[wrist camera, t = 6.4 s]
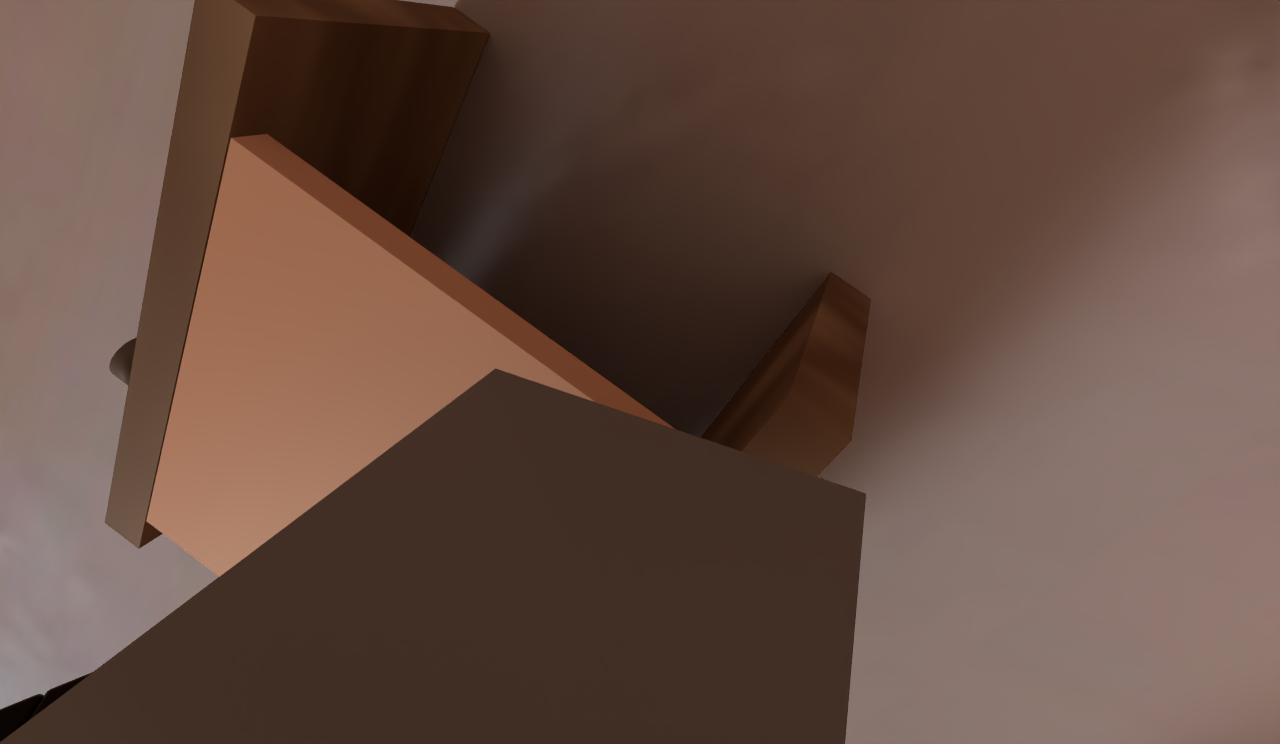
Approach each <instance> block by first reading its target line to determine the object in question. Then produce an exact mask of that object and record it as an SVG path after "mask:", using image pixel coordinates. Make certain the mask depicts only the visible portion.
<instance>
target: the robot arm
mask: <svg viewBox="0 0 1280 744" xmlns="http://www.w3.org/2000/svg"><path fill="white" fill-rule="evenodd" d="M92 673H93V672H92ZM90 674H91V673H89V674H87V675H84V676H82V677H79V678H77V679H75V680H72V681H70V682H67V683H65V684H62V685H60V686H57V687H55V688H52V689H50V690H49V691H47V693H46V694H45V695H43V694H37V695H35V696H32V697H30V698H27V699H25V700H22V701H20V702H17V703H15V704H13V705H10V706H8V707H5V708H3V709H0V742H1V741H3V740H4V739H5V738H6V737H8V736H9V735H10V734H12V733H13V732H14V731H16V730H17V729H18V728H20V727H21V726H22V725H24V724H25V723H26V722H28V721H29V720H30V719H32V718H33V717H34V716H36V715H37V714H38V713H40V712H41V711H42V710H44V709H45V708H46V707H48V706H49V705H50V704H52V703H53V702H54V701H56V700H57V699H58V698H59V697H61V696H62V695H63V694H65V693H66V692H67V691H69V690H70V689H71V688H73V687H74V686H75V685H77V684H78V683H79V682H81V681H82V680H83V679H85V678H86V677H87V676H89V675H90Z"/></svg>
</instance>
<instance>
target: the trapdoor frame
mask: <svg viewBox="0 0 1280 744" xmlns="http://www.w3.org/2000/svg"><path fill="white" fill-rule="evenodd" d="M488 36H489V32H487V31H486V30H485V29H483V28H482V27H480V26H479V25H477V24H476V23H475V22H473V21H472V20H470V19H469V18H467V17H466V16H465V15H463V14H462V13H460V12H459V11H457V10H456V9H455V8H453V7H447V6H439V5H431V4H423V3H415V2H407V1H399V0H195V3H194V8H193V14H192V20H191V26H190V32H189V37H188V43H187V49H186V55H185V61H184V66H183V72H182V78H181V84H180V90H179V95H178V101H177V107H176V113H175V119H174V124H173V130H172V136H171V142H170V148H169V153H168V159H167V165H166V171H165V177H164V182H163V188H162V194H161V200H160V206H159V211H158V217H157V223H156V229H155V235H154V240H153V246H152V252H151V258H150V264H149V269H148V275H147V281H146V287H145V293H144V298H143V304H142V310H141V316H140V322H139V327H138V333H137V338H135V339H132V340H130V341H129V342H127V343H126V344H124V345H123V346H122V347H121V348H120V349H119V350H118V351H117V352H116V353H115V354H114V356H113V357H112V359H111V362H110V371H111V373H112V374H114V375H115V376H116V377H118V378H119V379H120V380H122V381H123V382H124V383H126V384H127V385H128V391H127V397H126V403H125V409H124V414H123V420H122V426H121V432H120V438H119V443H118V449H117V455H116V461H115V467H114V472H113V478H112V484H111V490H110V496H109V501H108V507H107V513H106V519H105V523H106V524H107V525H109V526H110V527H111V528H112V529H114V530H115V531H116V532H118V533H119V534H120V535H122V536H123V537H124V538H125V539H127V540H128V541H129V542H131V543H132V544H133V545H135V546H136V547H137V548H141V547H142V546H144V545H146V544H147V543H149V542H150V541H152V540H153V539H155V538H157V537H158V536H160V535H161V534H163V533H161V532H160V531H159V530H157V529H156V528H155V527H154V526H152V525H151V524H150V523H148V522H147V521H146V520H147V516H148V511H149V507H150V502H151V498H152V493H153V489H154V484H155V480H156V475H157V471H158V466H159V462H160V457H161V452H162V448H163V443H164V439H165V434H166V430H167V425H168V421H169V416H170V412H171V407H172V403H173V398H174V394H175V389H176V384H177V380H178V375H179V371H180V366H181V362H182V357H183V353H184V348H185V344H186V339H187V335H188V330H189V326H190V321H191V316H192V312H193V307H194V303H195V298H196V294H197V289H198V285H199V280H200V276H201V271H202V267H203V262H204V258H205V253H206V248H207V244H208V239H209V235H210V230H211V226H212V221H213V217H214V212H215V208H216V203H217V199H218V194H219V190H220V185H221V181H222V176H223V171H224V167H225V162H226V158H227V153H228V149H229V144H230V140H231V138H234V137H243V136H252V135H261V134H268V135H269V136H271V137H272V138H273V139H275V140H276V141H277V142H279V143H280V144H282V145H283V146H284V147H286V148H287V149H289V150H290V151H291V152H293V153H294V154H295V155H297V156H298V157H300V158H301V159H302V160H304V161H305V162H306V163H308V164H309V165H311V166H312V167H313V168H315V169H316V170H318V171H319V172H320V173H322V174H323V175H324V176H326V177H327V178H329V179H330V180H331V181H333V182H334V183H336V184H337V185H338V186H340V187H341V188H342V189H344V190H345V191H347V192H348V193H349V194H351V195H352V196H354V197H355V198H356V199H358V200H359V201H360V202H362V203H363V204H365V205H366V206H367V207H369V208H370V209H372V210H373V211H374V212H376V213H377V214H378V215H380V216H381V217H383V218H384V219H385V220H387V221H388V222H389V223H391V224H392V225H394V226H395V227H396V228H398V229H399V230H401V231H402V232H403V233H405V234H406V235H407V236H409V235H410V233H411V230H412V228H413V225H414V223H415V220H416V217H417V215H418V212H419V210H420V207H421V205H422V202H423V200H424V197H425V195H426V192H427V190H428V187H429V185H430V182H431V180H432V177H433V175H434V172H435V169H436V167H437V164H438V162H439V159H440V157H441V154H442V152H443V149H444V147H445V144H446V142H447V139H448V137H449V134H450V132H451V129H452V127H453V124H454V121H455V119H456V116H457V114H458V111H459V109H460V106H461V104H462V101H463V99H464V96H465V94H466V91H467V89H468V86H469V84H470V81H471V79H472V76H473V73H474V71H475V68H476V66H477V63H478V61H479V58H480V56H481V53H482V51H483V48H484V46H485V43H486V41H487V38H488ZM869 308H870V299H869V298H867V297H866V296H864V295H863V294H861V293H860V292H859V291H857V290H856V289H854V288H853V287H851V286H850V285H849V284H847V283H846V282H844V281H843V280H841V279H840V278H839V277H837V276H836V275H834V274H833V273H831V274H830V275H829V276H828V277H827V279H826V280H825V281H824V282H823V284H822V285H821V286H820V287H819V289H818V290H817V291H816V292H815V294H814V295H813V296H812V298H811V299H810V300H809V301H808V303H807V304H806V305H805V306H804V308H803V309H802V310H801V311H800V313H799V314H798V315H797V316H796V318H795V319H794V320H793V322H792V323H791V324H790V325H789V327H788V328H787V329H786V330H785V332H784V333H783V334H782V335H781V337H780V338H779V339H778V340H777V342H776V343H775V344H774V346H773V347H772V348H771V349H770V351H769V352H768V353H767V354H766V356H765V357H764V358H763V359H762V361H761V362H760V363H759V364H758V366H757V367H756V368H755V370H754V371H753V372H752V373H751V375H750V376H749V377H748V378H747V380H746V381H745V382H744V383H743V385H742V386H741V387H740V389H739V390H738V391H737V392H736V394H735V395H734V396H733V397H732V399H731V400H730V401H729V402H728V404H727V405H726V406H725V407H724V409H723V410H722V411H721V413H720V414H719V415H718V416H717V418H716V419H715V420H714V421H713V423H712V424H711V425H710V426H709V428H708V429H707V430H706V431H705V433H704V434H703V435H702V437H701V438H703V439H706V440H709V441H712V442H715V443H718V444H721V445H723V446H726V447H729V448H732V449H735V450H738V451H741V452H744V453H747V454H750V455H753V456H756V457H759V458H762V459H765V460H768V461H771V462H774V463H777V464H780V465H783V466H786V467H789V468H791V469H794V470H797V471H800V472H803V473H806V474H809V475H812V476H815V477H817V476H818V475H819V474H820V473H821V472H822V471H823V470H824V468H825V467H826V466H827V465H828V464H829V463H830V462H831V461H832V460H833V459H834V458H835V457H836V456H837V455H838V454H839V453H840V452H841V451H842V450H843V449H844V448H845V446H846V445H847V444H848V443H849V442H850V441H851V439H852V431H853V424H854V417H855V409H856V402H857V395H858V388H859V380H860V373H861V366H862V359H863V351H864V344H865V337H866V329H867V322H868V315H869Z"/></svg>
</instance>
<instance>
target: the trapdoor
mask: <svg viewBox="0 0 1280 744" xmlns="http://www.w3.org/2000/svg"><path fill="white" fill-rule="evenodd" d="M495 368H496V369H499V370H502V371H505V372H508V373H511V374H514V375H517V376H520V377H522V378H525V379H528V380H531V381H534V382H537V383H540V384H543V385H546V386H549V387H552V388H555V389H558V390H561V391H564V392H567V393H570V394H573V395H576V396H579V397H582V398H585V399H588V400H590V401H593V402H596V403H599V404H602V405H605V406H608V407H611V408H614V409H617V410H620V411H623V412H626V413H629V414H632V415H635V416H638V417H641V418H644V419H647V420H650V421H653V422H655V423H658V424H661V425H664V426H667V427H670V428H673V427H672V426H670V425H669V424H668V423H666V422H665V421H663V420H662V419H661V418H659V417H658V416H656V415H655V414H654V413H652V412H651V411H650V410H648V409H647V408H645V407H644V406H643V405H641V404H640V403H639V402H637V401H636V400H634V399H633V398H632V397H630V396H629V395H627V394H626V393H625V392H623V391H622V390H621V389H619V388H618V387H616V386H615V385H614V384H612V383H611V382H609V381H608V380H607V379H605V378H604V377H603V376H601V375H600V374H598V373H597V372H596V371H594V370H593V369H591V368H590V367H589V366H587V365H586V364H585V363H583V362H582V361H580V360H579V359H578V358H576V357H575V356H573V355H572V354H571V353H569V352H568V351H567V350H565V349H564V348H562V347H561V346H560V345H558V344H557V343H556V342H554V341H553V340H551V339H550V338H549V337H547V336H546V335H544V334H543V333H542V332H540V331H539V330H538V329H536V328H535V327H533V326H532V325H531V324H529V323H528V322H526V321H525V320H524V319H522V318H521V317H520V316H518V315H517V314H515V313H514V312H513V311H511V310H510V309H508V308H507V307H506V306H504V305H503V304H502V303H500V302H499V301H497V300H496V299H495V298H493V297H492V296H490V295H489V294H488V293H486V292H485V291H484V290H482V289H481V288H479V287H478V286H477V285H475V284H474V283H473V282H471V281H470V280H468V279H467V278H466V277H464V276H463V275H461V274H460V273H459V272H457V271H456V270H455V269H453V268H452V267H450V266H449V265H448V264H446V263H445V262H443V261H442V260H441V259H439V258H438V257H437V256H435V255H434V254H432V253H431V252H430V251H428V250H427V249H425V248H424V247H423V246H421V245H420V244H419V243H417V242H416V241H414V240H413V239H412V238H410V237H409V236H407V235H406V234H405V233H403V232H402V231H401V230H399V229H398V228H396V227H395V226H394V225H392V224H391V223H389V222H388V221H387V220H385V219H384V218H383V217H381V216H380V215H378V214H377V213H376V212H374V211H373V210H372V209H370V208H369V207H367V206H366V205H365V204H363V203H362V202H360V201H359V200H358V199H356V198H355V197H354V196H352V195H351V194H349V193H348V192H347V191H345V190H344V189H342V188H341V187H340V186H338V185H337V184H336V183H334V182H333V181H331V180H330V179H329V178H327V177H326V176H324V175H323V174H322V173H320V172H319V171H318V170H316V169H315V168H313V167H312V166H311V165H309V164H308V163H306V162H305V161H304V160H302V159H301V158H300V157H298V156H297V155H295V154H294V153H293V152H291V151H290V150H289V149H287V148H286V147H284V146H283V145H282V144H280V143H279V142H277V141H276V140H275V139H273V138H272V137H271V136H269V135H268V134H261V135H252V136H243V137H234V138H231V140H230V144H229V149H228V153H227V158H226V162H225V167H224V171H223V176H222V181H221V185H220V190H219V194H218V199H217V203H216V208H215V212H214V217H213V221H212V226H211V230H210V235H209V239H208V244H207V248H206V253H205V258H204V262H203V267H202V271H201V276H200V280H199V285H198V289H197V294H196V298H195V303H194V307H193V312H192V316H191V321H190V326H189V330H188V335H187V339H186V344H185V348H184V353H183V357H182V362H181V366H180V371H179V375H178V380H177V384H176V389H175V394H174V398H173V403H172V407H171V412H170V416H169V421H168V425H167V430H166V434H165V439H164V443H163V448H162V452H161V457H160V462H159V466H158V471H157V475H156V480H155V484H154V489H153V493H152V498H151V502H150V507H149V511H148V516H147V520H146V521H147V522H148V523H150V524H151V525H152V526H154V527H155V528H156V529H157V530H159V531H160V532H161V533H163V534H164V535H165V536H167V537H168V538H169V539H171V540H172V541H173V542H174V543H176V544H177V545H178V546H180V547H181V548H182V549H184V550H185V551H186V552H188V553H189V554H190V555H191V556H193V557H194V558H195V559H197V560H198V561H199V562H201V563H202V564H203V565H205V566H206V567H207V568H208V569H210V570H211V571H212V572H214V573H215V574H216V575H218V576H219V577H220V576H221V575H222V574H224V573H225V572H226V571H228V570H229V569H230V568H232V567H233V566H234V565H236V564H237V563H238V562H240V561H241V560H242V559H244V558H245V557H246V556H248V555H249V554H250V553H252V552H253V551H254V550H256V549H257V548H258V547H260V546H261V545H262V544H264V543H265V542H266V541H267V540H269V539H270V538H271V537H273V536H274V535H275V534H277V533H278V532H279V531H281V530H282V529H283V528H285V527H286V526H287V525H289V524H290V523H291V522H293V521H294V520H295V519H297V518H298V517H299V516H301V515H302V514H303V513H305V512H306V511H307V510H309V509H310V508H311V507H313V506H314V505H315V504H316V503H318V502H319V501H320V500H322V499H323V498H324V497H326V496H327V495H328V494H330V493H331V492H332V491H334V490H335V489H336V488H338V487H339V486H340V485H342V484H343V483H344V482H346V481H347V480H348V479H350V478H351V477H352V476H354V475H355V474H356V473H358V472H359V471H360V470H362V469H363V468H364V467H366V466H367V465H368V464H369V463H371V462H372V461H373V460H375V459H376V458H377V457H379V456H380V455H381V454H383V453H384V452H385V451H387V450H388V449H389V448H391V447H392V446H393V445H395V444H396V443H397V442H399V441H400V440H401V439H403V438H404V437H405V436H407V435H408V434H409V433H411V432H412V431H413V430H415V429H416V428H417V427H419V426H420V425H421V424H422V423H424V422H425V421H426V420H428V419H429V418H430V417H432V416H433V415H434V414H436V413H437V412H438V411H440V410H441V409H442V408H444V407H445V406H446V405H448V404H449V403H450V402H452V401H453V400H454V399H456V398H457V397H458V396H460V395H461V394H462V393H464V392H465V391H466V390H468V389H469V388H470V387H472V386H473V385H474V384H475V383H477V382H478V381H479V380H481V379H482V378H483V377H485V376H486V375H487V374H489V373H490V372H491V371H493V370H494V369H495ZM673 429H674V428H673Z"/></svg>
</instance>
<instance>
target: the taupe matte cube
mask: <svg viewBox="0 0 1280 744" xmlns="http://www.w3.org/2000/svg"><path fill="white" fill-rule="evenodd" d="M865 499H866V494H865V493H862V492H859V491H857V490H854V489H851V488H848V487H845V486H842V485H839V484H836V483H833V482H830V481H827V480H824V479H821V478H818V477H815V476H812V475H809V474H806V473H803V472H800V471H797V470H794V469H791V468H789V467H786V466H783V465H780V464H777V463H774V462H771V461H768V460H765V459H762V458H759V457H756V456H753V455H750V454H747V453H744V452H741V451H738V450H735V449H732V448H729V447H726V446H723V445H721V444H718V443H715V442H712V441H709V440H706V439H703V438H700V437H697V436H694V435H691V434H688V433H685V432H682V431H679V430H676V429H673V428H670V427H667V426H664V425H661V424H658V423H655V422H653V421H650V420H647V419H644V418H641V417H638V416H635V415H632V414H629V413H626V412H623V411H620V410H617V409H614V408H611V407H608V406H605V405H602V404H599V403H596V402H593V401H590V400H588V399H585V398H582V397H579V396H576V395H573V394H570V393H567V392H564V391H561V390H558V389H555V388H552V387H549V386H546V385H543V384H540V383H537V382H534V381H531V380H528V379H525V378H522V377H520V376H517V375H514V374H511V373H508V372H505V371H502V370H499V369H496V368H495V369H494V370H493V371H491V372H490V373H489V374H487V375H486V376H485V377H483V378H482V379H481V380H479V381H478V382H477V383H475V384H474V385H473V386H472V387H470V388H469V389H468V390H466V391H465V392H464V393H462V394H461V395H460V396H458V397H457V398H456V399H454V400H453V401H452V402H450V403H449V404H448V405H446V406H445V407H444V408H442V409H441V410H440V411H438V412H437V413H436V414H434V415H433V416H432V417H430V418H429V419H428V420H426V421H425V422H424V423H422V424H421V425H420V426H419V427H417V428H416V429H415V430H413V431H412V432H411V433H409V434H408V435H407V436H405V437H404V438H403V439H401V440H400V441H399V442H397V443H396V444H395V445H393V446H392V447H391V448H389V449H388V450H387V451H385V452H384V453H383V454H381V455H380V456H379V457H377V458H376V459H375V460H373V461H372V462H371V463H369V464H368V465H367V466H366V467H364V468H363V469H362V470H360V471H359V472H358V473H356V474H355V475H354V476H352V477H351V478H350V479H348V480H347V481H346V482H344V483H343V484H342V485H340V486H339V487H338V488H336V489H335V490H334V491H332V492H331V493H330V494H328V495H327V496H326V497H324V498H323V499H322V500H320V501H319V502H318V503H316V504H315V505H314V506H313V507H311V508H310V509H309V510H307V511H306V512H305V513H303V514H302V515H301V516H299V517H298V518H297V519H295V520H294V521H293V522H291V523H290V524H289V525H287V526H286V527H285V528H283V529H282V530H281V531H279V532H278V533H277V534H275V535H274V536H273V537H271V538H270V539H269V540H267V541H266V542H265V543H264V544H262V545H261V546H260V547H258V548H257V549H256V550H254V551H253V552H252V553H250V554H249V555H248V556H246V557H245V558H244V559H242V560H241V561H240V562H238V563H237V564H236V565H234V566H233V567H232V568H230V569H229V570H228V571H226V572H225V573H224V574H222V575H221V576H220V577H218V578H217V579H216V580H214V581H213V582H212V583H211V584H209V585H208V586H207V587H205V588H204V589H203V590H201V591H200V592H199V593H197V594H196V595H195V596H193V597H192V598H191V599H189V600H188V601H187V602H185V603H184V604H183V605H181V606H180V607H179V608H177V609H176V610H175V611H173V612H172V613H171V614H169V615H168V616H167V617H165V618H164V619H163V620H161V621H160V622H159V623H158V624H156V625H155V626H154V627H152V628H151V629H150V630H148V631H147V632H146V633H144V634H143V635H142V636H140V637H139V638H138V639H136V640H135V641H134V642H132V643H131V644H130V645H128V646H127V647H126V648H124V649H123V650H122V651H120V652H119V653H118V654H116V655H115V656H114V657H112V658H111V659H110V660H109V661H107V662H106V663H105V664H103V665H102V666H101V667H99V668H98V669H97V670H95V671H94V672H93V673H91V674H90V675H89V676H87V677H86V678H85V679H83V680H82V681H81V682H79V683H78V684H77V685H75V686H74V687H73V688H71V689H70V690H69V691H67V692H66V693H65V694H63V695H62V696H61V697H59V698H58V699H57V700H56V701H54V702H53V703H52V704H50V705H49V706H48V707H46V708H45V709H44V710H42V711H41V712H40V713H38V714H37V715H36V716H34V717H33V718H32V719H30V720H29V721H28V722H26V723H25V724H24V725H22V726H21V727H20V728H18V729H17V730H16V731H14V732H13V733H12V734H10V735H9V736H8V737H6V738H5V739H4V740H3V741H1V742H0V744H845V737H846V725H847V713H848V701H849V689H850V677H851V665H852V654H853V642H854V630H855V618H856V606H857V594H858V582H859V570H860V559H861V547H862V535H863V523H864V511H865Z"/></svg>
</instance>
